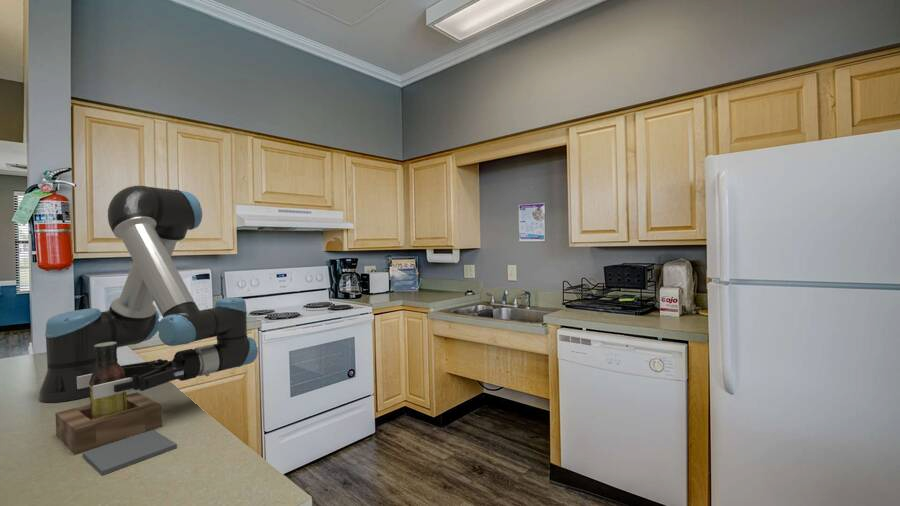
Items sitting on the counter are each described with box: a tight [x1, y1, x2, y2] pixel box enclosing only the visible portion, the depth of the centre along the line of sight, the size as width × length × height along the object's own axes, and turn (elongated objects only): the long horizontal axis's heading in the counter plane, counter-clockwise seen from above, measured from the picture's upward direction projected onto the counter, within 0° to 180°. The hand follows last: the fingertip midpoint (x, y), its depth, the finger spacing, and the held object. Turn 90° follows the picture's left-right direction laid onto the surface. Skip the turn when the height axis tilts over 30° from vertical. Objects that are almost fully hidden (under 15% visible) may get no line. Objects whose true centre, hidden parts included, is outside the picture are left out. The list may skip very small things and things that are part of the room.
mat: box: [82, 429, 178, 476], centre depth 82 cm, size 12×12×1 cm
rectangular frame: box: [55, 391, 163, 455], centre depth 92 cm, size 15×15×5 cm
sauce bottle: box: [89, 342, 128, 419], centre depth 92 cm, size 7×6×20 cm
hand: (84, 387), depth 89 cm, fingers open, 11 cm apart
